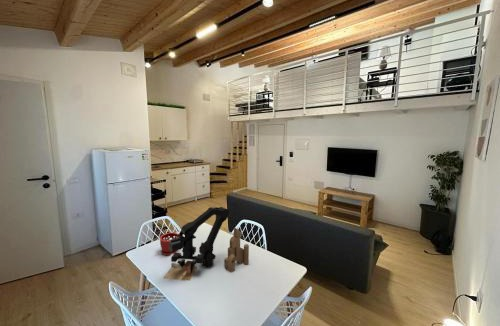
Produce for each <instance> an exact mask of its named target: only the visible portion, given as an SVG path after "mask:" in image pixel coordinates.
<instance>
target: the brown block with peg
mask: <svg viewBox="0 0 500 326" xmlns="http://www.w3.org/2000/svg"><path fill="white" fill-rule="evenodd" d="M191 262H192V260H186V261H185V264H184V266H183V275H182V276H183V277H184V279H185V276H190V275H191V273H192V272H191ZM193 270H194V268H193Z"/></svg>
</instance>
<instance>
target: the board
mask: <svg viewBox="0 0 500 326" xmlns="http://www.w3.org/2000/svg"><path fill="white" fill-rule="evenodd" d="M170 265H171V267H170V268H169V270H168V271H167V273H165V275H164V276H163V278H162V279H165V280H166V279H167V280H177V281H178V280H180V281H191V279H192V278H193V276H194V274H195V272H196V271H197V269H198V263H196V264H195V265H194V270H193V271H192V273H191V275H190V276H185V279H184V277H183V276H182V275H183V269H182V267H181V266H180V264H179V263H177V262H171V264H170Z"/></svg>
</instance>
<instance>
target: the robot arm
mask: <svg viewBox="0 0 500 326" xmlns="http://www.w3.org/2000/svg"><path fill="white" fill-rule="evenodd" d="M229 210H230V209H228V208H226V207H224V206H220V207H212V206H209V207H208V208H207V210H205V211H204V212H203V213H201V214H200V215H199V216H198V217H197V218H195V219H194V220H192V221H189V222H187V223H185V224H183V226H181V228H180V229H181V230H180V231H179V233H177V234H178V238H176V239H172V238H171V239H169V240H170V242H169V249H170V252H174V251H177V250H178V251H179V250H181V252H182V253H181V252H178V251H177V252H176V253H174V254H172V256H171V257H170V261H171V263H179V264H180V266H181V267H182V269H183V266H184V264H185V263H186V261H192V262H191V272H192V271H193V268H194V265H195V264H198V265H199V264H201V265H202V267H205V268H212V267H213V266H214V263H215V259H216V254H215V253H214V244H215V241H216V238H217V236H218V234H219V232H220V231H221V227H222V225H223V223H224V222H225V221H226V220H227V219H228V218H229V215H230V211H229ZM212 216H215V220H214V222H213V225H212V227H211V230H210V231H209V234H208V236H207V238H206V240H205V241H204V242H202V241H201V243H200V245H199V247H198V249H199V250H198V252H199V253H198V254H197V255H196V254H195V253H196V252H197V246H194V245H193V244H194V239H196V238H197V236H195V234H196V232H197V231H198V229H199V228H200V227H201V226H202V225H203V224H204V223H205V222H206V221H208V220H209V219H210V218H212Z"/></svg>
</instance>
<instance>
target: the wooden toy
mask: <svg viewBox="0 0 500 326" xmlns="http://www.w3.org/2000/svg"><path fill="white" fill-rule="evenodd" d="M242 236H244V233H243V232H241V231H240V230H239V229H238V228H236V227H233V236H231V237H230V239H229V247H228V248H227V257H225V258H224V259H223V260H224V265H223V266H224V269H225V270H226V271H228V273H229V272H230V273H232V272H235V271H236V263H237V264H238V265H242V264H244V265H246V266H248V265H249V260H250V259H249V256H250V255H249V253H250V248H249V247H250V245H249V244H248V243H244V244H243V248H242V247H241V237H242Z"/></svg>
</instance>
